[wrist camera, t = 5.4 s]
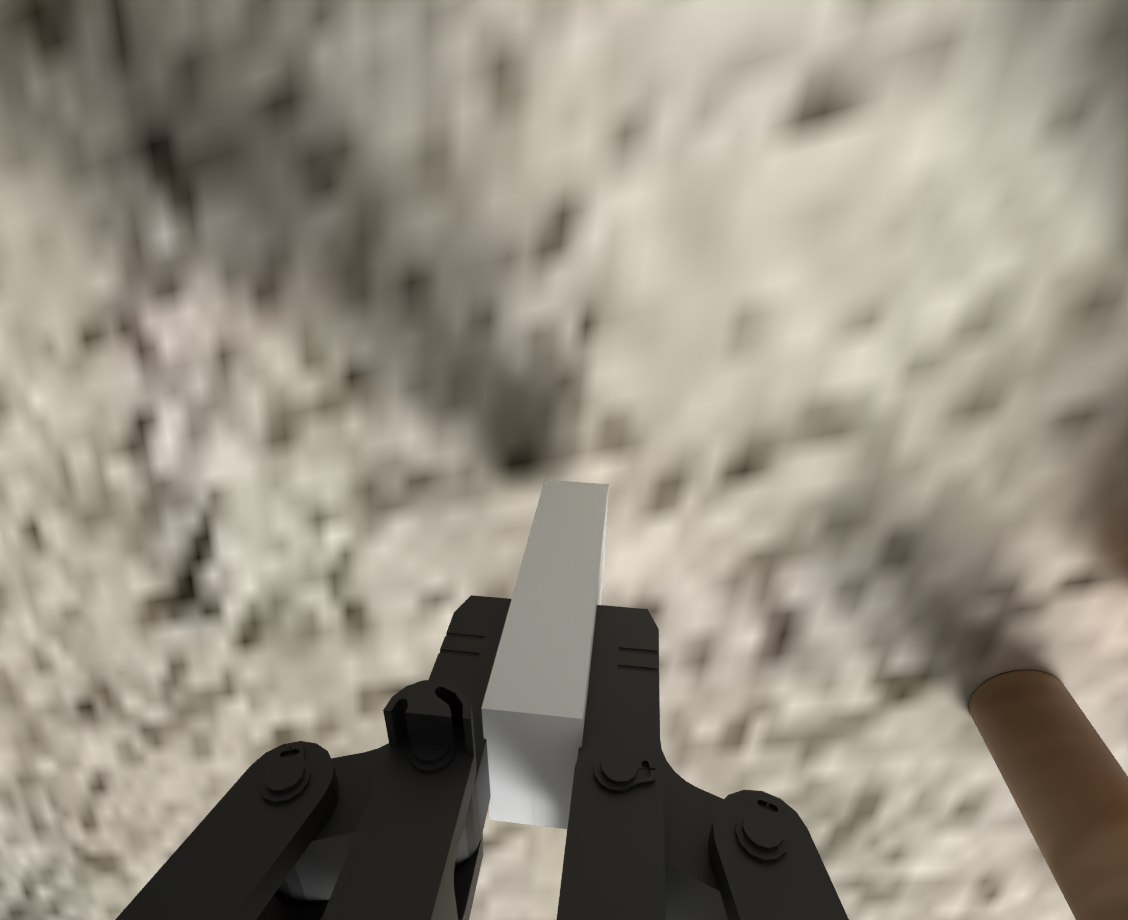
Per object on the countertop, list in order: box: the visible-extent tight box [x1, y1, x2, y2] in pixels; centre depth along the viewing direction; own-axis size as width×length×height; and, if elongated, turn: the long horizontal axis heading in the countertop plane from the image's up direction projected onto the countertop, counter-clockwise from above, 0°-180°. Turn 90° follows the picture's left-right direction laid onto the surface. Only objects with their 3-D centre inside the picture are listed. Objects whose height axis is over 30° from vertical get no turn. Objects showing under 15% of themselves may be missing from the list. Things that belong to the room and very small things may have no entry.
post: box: [969, 670, 1128, 920], centre depth 15 cm, size 3×3×9 cm
